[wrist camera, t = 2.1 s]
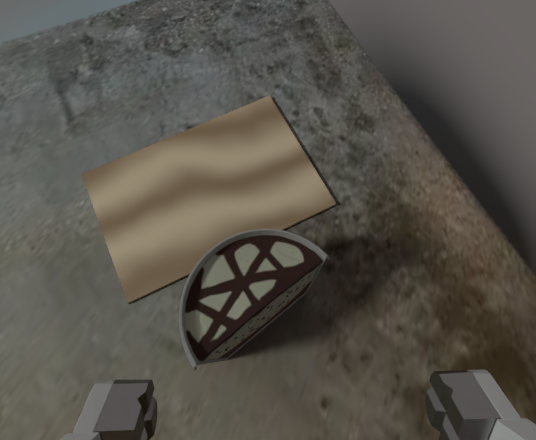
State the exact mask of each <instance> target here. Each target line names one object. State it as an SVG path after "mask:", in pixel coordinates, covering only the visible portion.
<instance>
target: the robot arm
mask: <svg viewBox="0 0 536 440" xmlns="http://www.w3.org/2000/svg"><path fill="white" fill-rule="evenodd" d="M429 381H430V383H431V385H432V387H431V388H430V389H429V390H428V391H427V392H426V396H425V408H426V413H427V416H428V419H429V421H430V424H431V426H432V427H434V428H435V429H436V430H437V431H439V432H440V435H439V439H438V440H536V424H534V423H533V422H531V421H530V420H528V419H527V418H521V417H520V416H519V414H518V413H517V412H516V410H515V409H514V407H513V406H512V404H511V403H510V402H509V400H508V399H507V397H506V396H505V394H504V393H503V392H502V390H501V389H500V387H499V386H498V384H497V383H496V381H495V380H494V379H493V377H492V376H491V374H490V373H489V372H488V371H486V370H453V371H434V372H433V373H432V374H431V377H430V380H429ZM153 391H154V385H153V380H98V381H97V382H96V383H95V384H94V386H93V388H92V390H91V392H90V395H89V397H88V399H87V401H86V404H85V406H84V408H83V410H82V413H81V415H80V417H79V419H78V422H77V424H76V426H75V428H74V431H73V433H67V434H66V435H64V436H63V437H62V438H61V439H60V440H149V439H150V438H151V437H152V436H153V435H154V432H155V428H156V422H157V401H156V399H155V398H154V397H153V396H152V395H153Z"/></svg>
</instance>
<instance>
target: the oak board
mask: <svg viewBox="0 0 536 440" xmlns="http://www.w3.org/2000/svg"><path fill="white" fill-rule="evenodd" d="M82 176H83V179H84V182H85V185H86V187H87V190H88V193H89V196H90V199H91V202H92V204H93V207H94V210H95V213H96V216H97V218H98V221H99V224H100V227H101V230H102V232H103V235H104V238H105V241H106V244H107V246H108V249H109V252H110V255H111V258H112V260H113V263H114V266H115V269H116V272H117V275H118V277H119V280H120V283H121V286H122V289H123V291H124V294H125V297H126V300H127V303H129V304H130V303H132V302H134V301H136V300H138V299H140V298H143V297H145V296H147V295H149V294H151V293H153V292H155V291H157V290H159V289H161V288H164V287H166V286H168V285H170V284H172V283H174V282H176V281H178V280H180V279H182V278H184V277H187V276H189V275H190V273H191V271H192V270H193V268H194V267H195V265H196V264H197V262H198V261H199V260H200V259H201V258H202V257H203V255H204V254H205V253H207V252H208V251H209V250H210V249H211V248H212V247H213V246H215V245H216V244H218V243H219V242H221V241H222V240H224V239H226V238H228V237H230V236H232V235H235V234H237V233H241V232H244V231H248V230H254V229H278V230H285V229H287V228H289V227H292V226H294V225H296V224H298V223H300V222H302V221H304V220H306V219H308V218H310V217H313V216H315V215H317V214H319V213H321V212H323V211H325V210H327V209H329V208H331V207H333V206H336V202H335V201H334V199H333V197H332V196H331V194H330V193H329V191H328V189H327V188H326V186H325V184H324V183H323V181H322V180H321V178H320V176H319V175H318V173H317V172H316V170H315V168H314V167H313V165H312V163H311V162H310V160H309V159H308V157H307V155H306V154H305V152H304V150H303V149H302V147H301V146H300V144H299V142H298V141H297V139H296V138H295V136H294V134H293V133H292V131H291V129H290V128H289V126H288V125H287V123H286V121H285V120H284V118H283V117H282V115H281V113H280V112H279V110H278V108H277V107H276V105H275V104H274V102H273V100H272V99H271V97H270V96H267V97H265V98H263V99H260V100H258V101H255V102H253V103H251V104H248V105H246V106H244V107H241V108H239V109H236V110H234V111H232V112H229V113H227V114H224V115H222V116H220V117H217V118H215V119H212V120H210V121H208V122H205V123H203V124H201V125H198V126H196V127H193V128H191V129H189V130H186V131H184V132H181V133H179V134H177V135H174V136H172V137H169V138H167V139H165V140H162V141H160V142H158V143H155V144H153V145H150V146H148V147H146V148H143V149H141V150H138V151H136V152H134V153H131V154H129V155H126V156H124V157H122V158H119V159H117V160H115V161H112V162H110V163H107V164H105V165H103V166H100V167H98V168H95V169H93V170H91V171H88V172H86V173H83V174H82Z"/></svg>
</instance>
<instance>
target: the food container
mask: <svg viewBox="0 0 536 440" xmlns="http://www.w3.org/2000/svg"><path fill="white" fill-rule="evenodd" d="M326 259H327V260H329V259H330V257H329V256H328V255H327V254H326V253H325V252H324V251H323V250H322V249H321V248H320V247H318V246H317V245H316V244H314V243H313V242H311V241H310V240H308V239H306V238H304V237H302V236H300V235H297V234H294V233H291V232H288V231H284V230H278V229H254V230H248V231H244V232H241V233H237V234H235V235H232V236H230V237H228V238H226V239H224V240H222V241H221V242H219V243H218V244H216V245H215V246H213V247H212V248H211V249H210V250H209V251H208V252H207V253H205V254H204V255H203V257H202V258H201V259H200V260H199V261H198V262H197V264H196V265H195V267H194V268H193V270H192V271H191V273H190V275H189V277H188V279H187V281H186V284H185V286H184V289H183V292H182V296H181V300H180V308H179V329H180V334H181V339H182V343H183V347H184V349H185V352H186V355H187V357H188V360H189V361H190V363H191V365H192V367H193V368H194V370H196V369H197V368H196V366H197V365H200V364H206V363H212V362H218V361H224V360H227V359H229V358H230V357H231V356H232V355H233V354H235V353H236V352H237V351H238V350H239V349H241V348H242V347H243V346H244V345H245V344H247V343H248V342H249V341H250V340H251V339H253V338H254V337H255V336H256V335H257V334H259V333H260V332H261V331H262V330H263V329H265V328H266V327H267V326H268V325H269V324H271V323H272V322H273V321H274V320H275V319H277V318H278V317H279V316H280V315H281V314H283V313H284V312H285V311H286V310H287V309H289V308H290V307H291V306H292V305H293V304H295V303H296V302H297V301H298V300H299V299H301V298H302V297H303V296H304V295H305V294H307V292H308V291H309V289H310V287H311V285H312V284H313V282H314V280H315V278H316V276H317V275H318V273H319V271H320V269H321V268H322V266H323V264H324V262H325V261H326Z"/></svg>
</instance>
